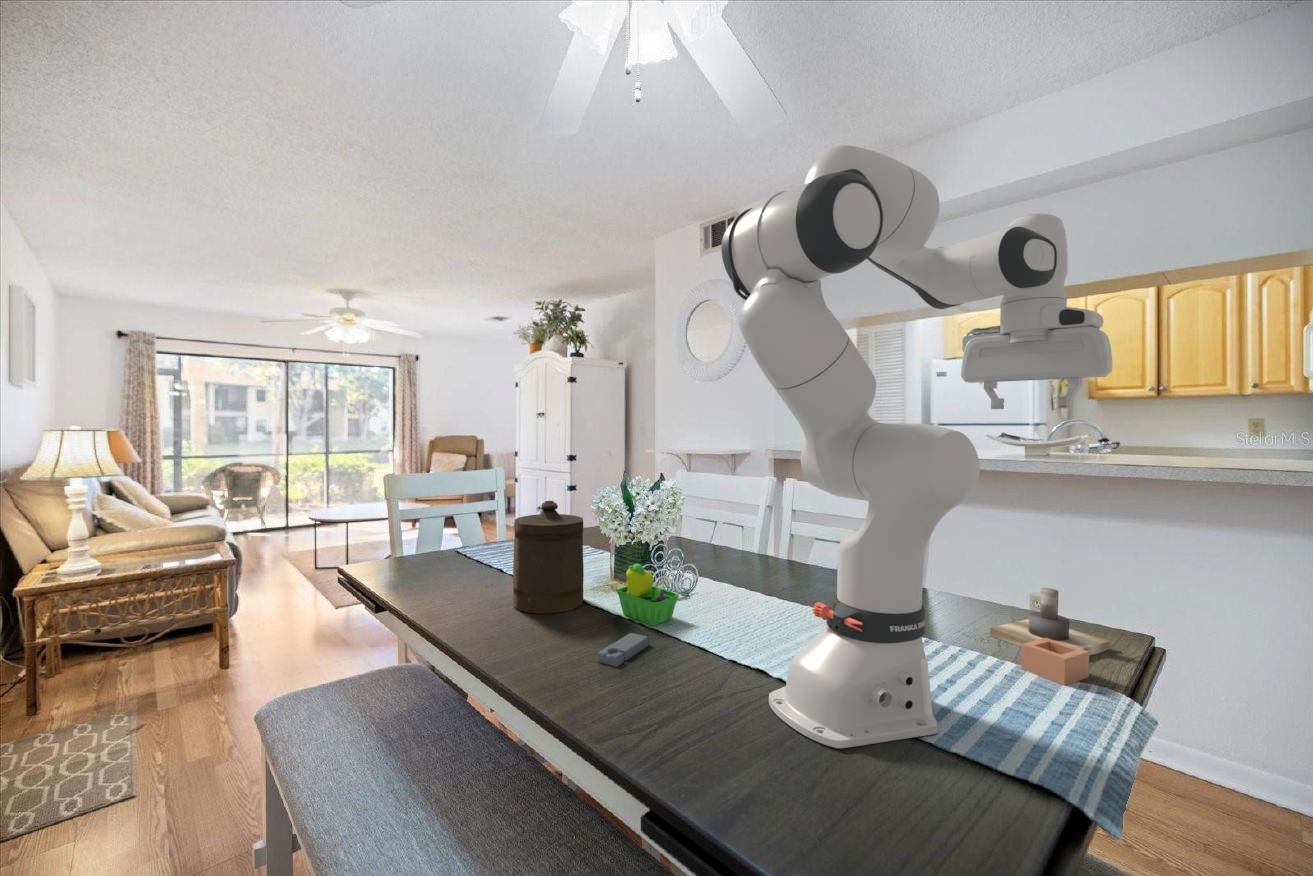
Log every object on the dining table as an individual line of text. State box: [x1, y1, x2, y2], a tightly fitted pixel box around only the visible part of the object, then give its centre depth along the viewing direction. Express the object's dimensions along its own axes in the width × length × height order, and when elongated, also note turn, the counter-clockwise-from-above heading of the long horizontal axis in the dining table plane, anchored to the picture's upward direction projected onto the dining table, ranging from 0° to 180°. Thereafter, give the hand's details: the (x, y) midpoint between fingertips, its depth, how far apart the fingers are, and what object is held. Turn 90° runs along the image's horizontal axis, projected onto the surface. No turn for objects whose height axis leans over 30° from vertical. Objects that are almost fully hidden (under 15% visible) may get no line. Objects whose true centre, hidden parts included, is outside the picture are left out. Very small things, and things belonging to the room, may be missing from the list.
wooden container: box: [512, 500, 585, 615], centre depth 122 cm, size 15×15×22 cm
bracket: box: [596, 632, 650, 668], centre depth 96 cm, size 4×10×2 cm, turn 151°
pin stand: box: [989, 587, 1111, 657], centre depth 102 cm, size 13×13×10 cm
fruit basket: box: [616, 563, 680, 626], centre depth 114 cm, size 11×9×11 cm
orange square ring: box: [1020, 638, 1090, 686], centre depth 90 cm, size 6×6×4 cm
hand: (1030, 408), depth 91 cm, fingers open, 8 cm apart
